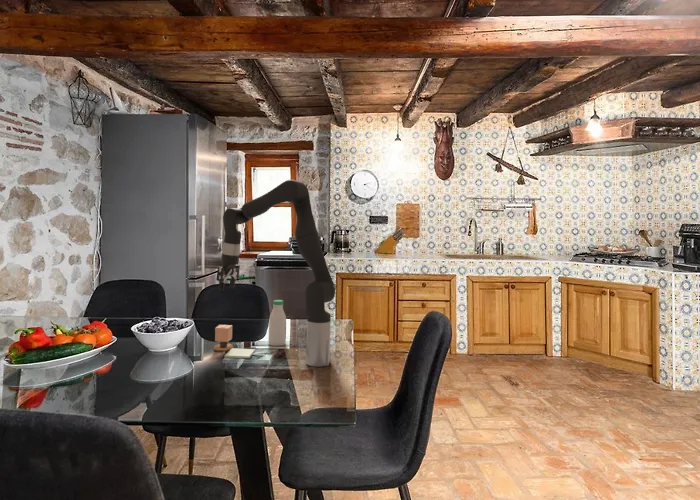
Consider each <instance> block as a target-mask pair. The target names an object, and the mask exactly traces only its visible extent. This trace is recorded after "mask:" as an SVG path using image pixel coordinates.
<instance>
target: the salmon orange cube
mask: <svg viewBox="0 0 700 500" xmlns="http://www.w3.org/2000/svg"><path fill="white" fill-rule="evenodd" d="M232 339H233V325H232V324H230V325H229V324H218V325H217V326H216V327H215V328H214V341H215V342H228V343H230V342H229V341H231V340H232Z"/></svg>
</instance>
